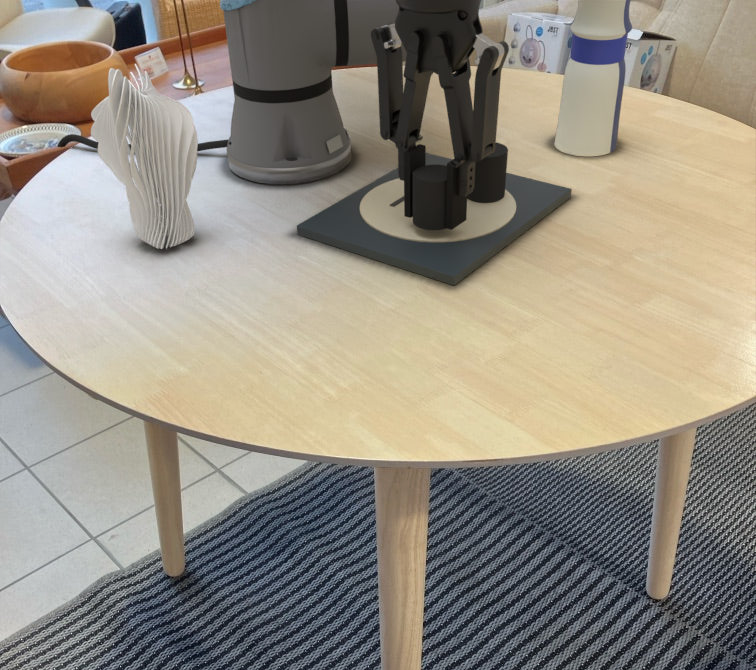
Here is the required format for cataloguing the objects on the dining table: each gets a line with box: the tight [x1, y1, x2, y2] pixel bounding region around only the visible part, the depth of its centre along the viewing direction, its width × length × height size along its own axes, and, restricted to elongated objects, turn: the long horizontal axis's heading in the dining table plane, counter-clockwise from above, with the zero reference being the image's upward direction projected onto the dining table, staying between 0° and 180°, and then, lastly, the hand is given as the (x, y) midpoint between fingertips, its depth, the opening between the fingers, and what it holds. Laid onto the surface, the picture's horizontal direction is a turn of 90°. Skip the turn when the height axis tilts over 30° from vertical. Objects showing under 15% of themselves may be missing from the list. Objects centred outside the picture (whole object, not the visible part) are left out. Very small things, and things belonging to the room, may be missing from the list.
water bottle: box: [553, 0, 633, 157], centre depth 99 cm, size 8×9×25 cm
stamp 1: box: [413, 165, 447, 230], centre depth 86 cm, size 4×4×5 cm
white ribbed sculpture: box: [90, 63, 199, 250], centre depth 85 cm, size 8×8×18 cm
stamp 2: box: [467, 142, 509, 203], centre depth 93 cm, size 4×4×5 cm
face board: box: [296, 152, 573, 286], centre depth 93 cm, size 20×24×1 cm
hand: (435, 217), depth 88 cm, fingers closed on stamp 1, 4 cm apart
